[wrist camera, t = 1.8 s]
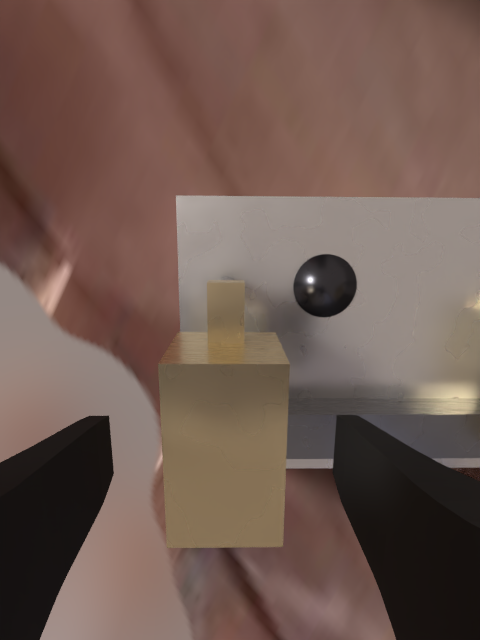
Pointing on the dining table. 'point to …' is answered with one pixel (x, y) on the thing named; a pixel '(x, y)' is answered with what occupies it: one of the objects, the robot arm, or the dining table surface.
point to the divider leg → (224, 429)
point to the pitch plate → (352, 310)
